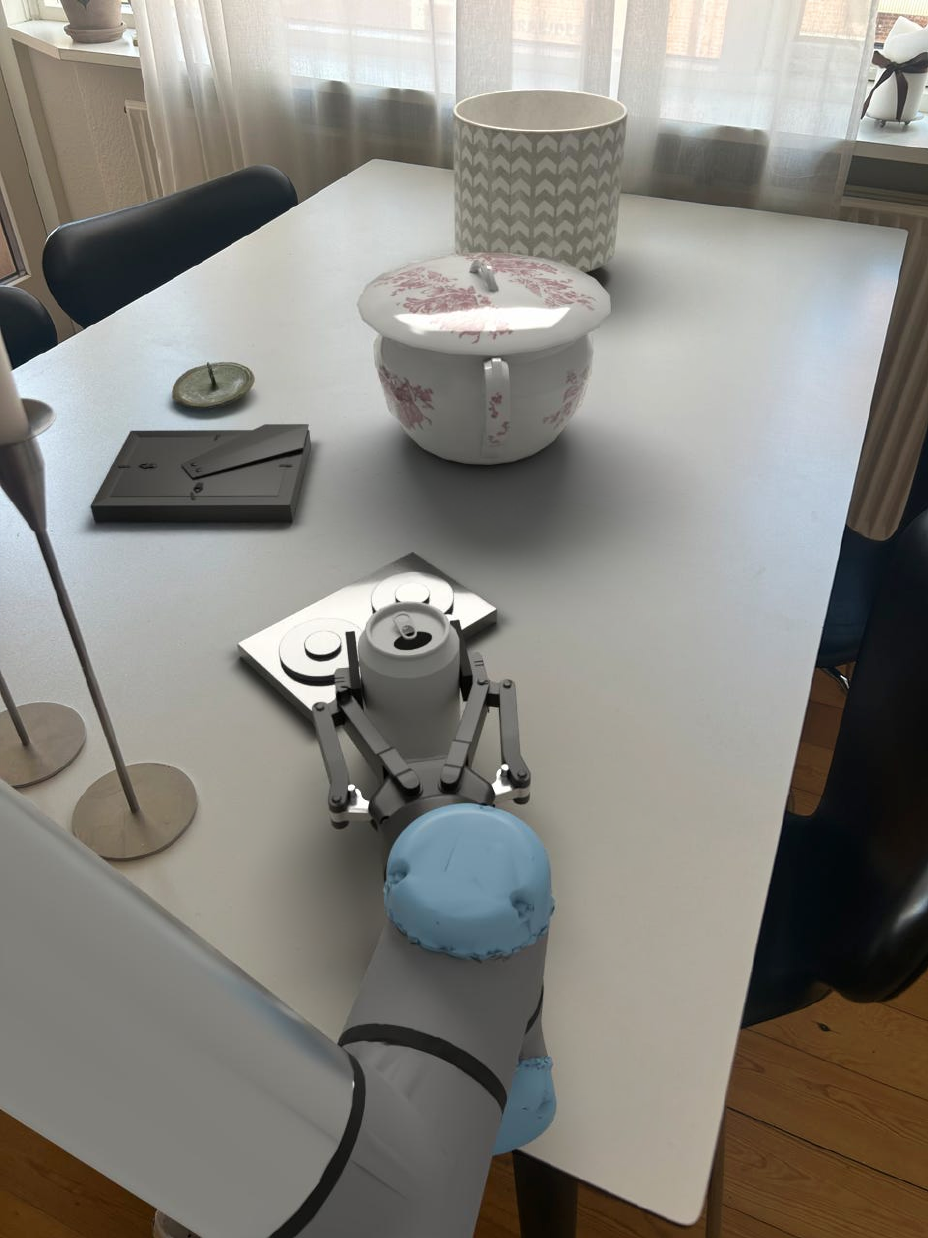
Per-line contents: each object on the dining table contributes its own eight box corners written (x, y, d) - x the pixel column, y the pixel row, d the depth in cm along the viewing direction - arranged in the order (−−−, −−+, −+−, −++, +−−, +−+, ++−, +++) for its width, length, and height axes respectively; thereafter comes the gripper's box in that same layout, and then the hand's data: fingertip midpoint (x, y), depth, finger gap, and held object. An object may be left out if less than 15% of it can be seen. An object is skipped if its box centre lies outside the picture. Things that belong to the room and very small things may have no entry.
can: (386, 787, 74) (376, 672, 66) (354, 722, 79) (341, 609, 71) (476, 756, 76) (476, 642, 68) (438, 695, 81) (435, 583, 74)
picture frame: (311, 445, 113) (134, 446, 113) (308, 423, 111) (129, 424, 111) (292, 521, 101) (95, 522, 101) (289, 498, 99) (88, 499, 99)
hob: (239, 656, 85) (235, 634, 84) (413, 563, 95) (412, 543, 94) (319, 729, 78) (315, 707, 77) (497, 621, 89) (497, 600, 87)
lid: (269, 395, 126) (267, 356, 124) (234, 412, 117) (231, 371, 115) (196, 390, 128) (192, 351, 126) (156, 406, 119) (151, 365, 117)
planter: (629, 256, 159) (645, 95, 144) (588, 313, 142) (601, 137, 126) (487, 238, 166) (488, 83, 151) (431, 291, 149) (425, 121, 133)
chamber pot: (457, 362, 129) (455, 202, 116) (640, 420, 117) (661, 247, 104) (316, 450, 112) (294, 273, 99) (513, 528, 100) (519, 338, 86)
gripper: (285, 936, 61) (280, 687, 78) (600, 890, 63) (527, 658, 81) (269, 865, 56) (267, 616, 73) (610, 818, 58) (530, 588, 76)
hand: (403, 638), depth 77 cm, fingers open, 8 cm apart
